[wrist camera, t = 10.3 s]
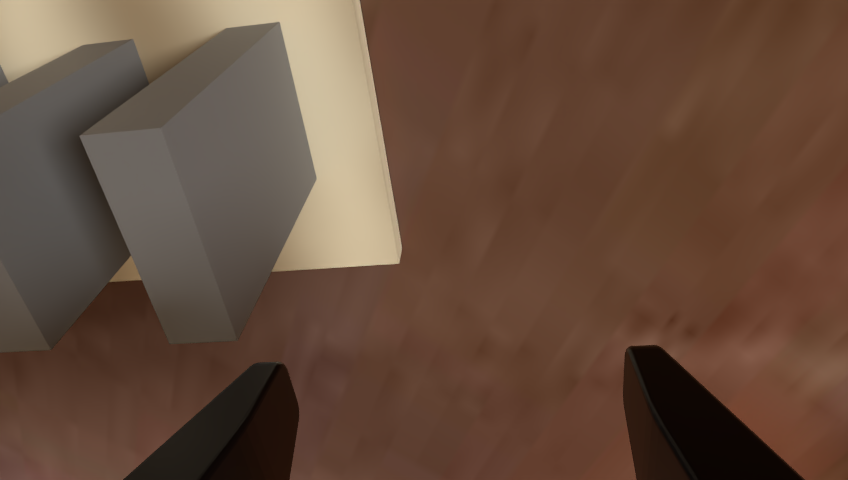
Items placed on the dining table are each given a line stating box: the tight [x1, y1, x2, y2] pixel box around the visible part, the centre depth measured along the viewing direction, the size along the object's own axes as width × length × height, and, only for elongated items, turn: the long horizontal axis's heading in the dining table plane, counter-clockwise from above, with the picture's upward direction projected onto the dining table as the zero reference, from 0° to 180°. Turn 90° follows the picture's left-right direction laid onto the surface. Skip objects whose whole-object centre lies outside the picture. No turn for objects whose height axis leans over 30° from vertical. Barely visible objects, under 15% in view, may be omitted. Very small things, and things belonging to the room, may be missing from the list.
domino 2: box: [79, 22, 317, 344], centre depth 16 cm, size 2×5×8 cm, turn 7°
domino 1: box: [0, 39, 149, 353], centre depth 17 cm, size 2×5×8 cm, turn 7°
